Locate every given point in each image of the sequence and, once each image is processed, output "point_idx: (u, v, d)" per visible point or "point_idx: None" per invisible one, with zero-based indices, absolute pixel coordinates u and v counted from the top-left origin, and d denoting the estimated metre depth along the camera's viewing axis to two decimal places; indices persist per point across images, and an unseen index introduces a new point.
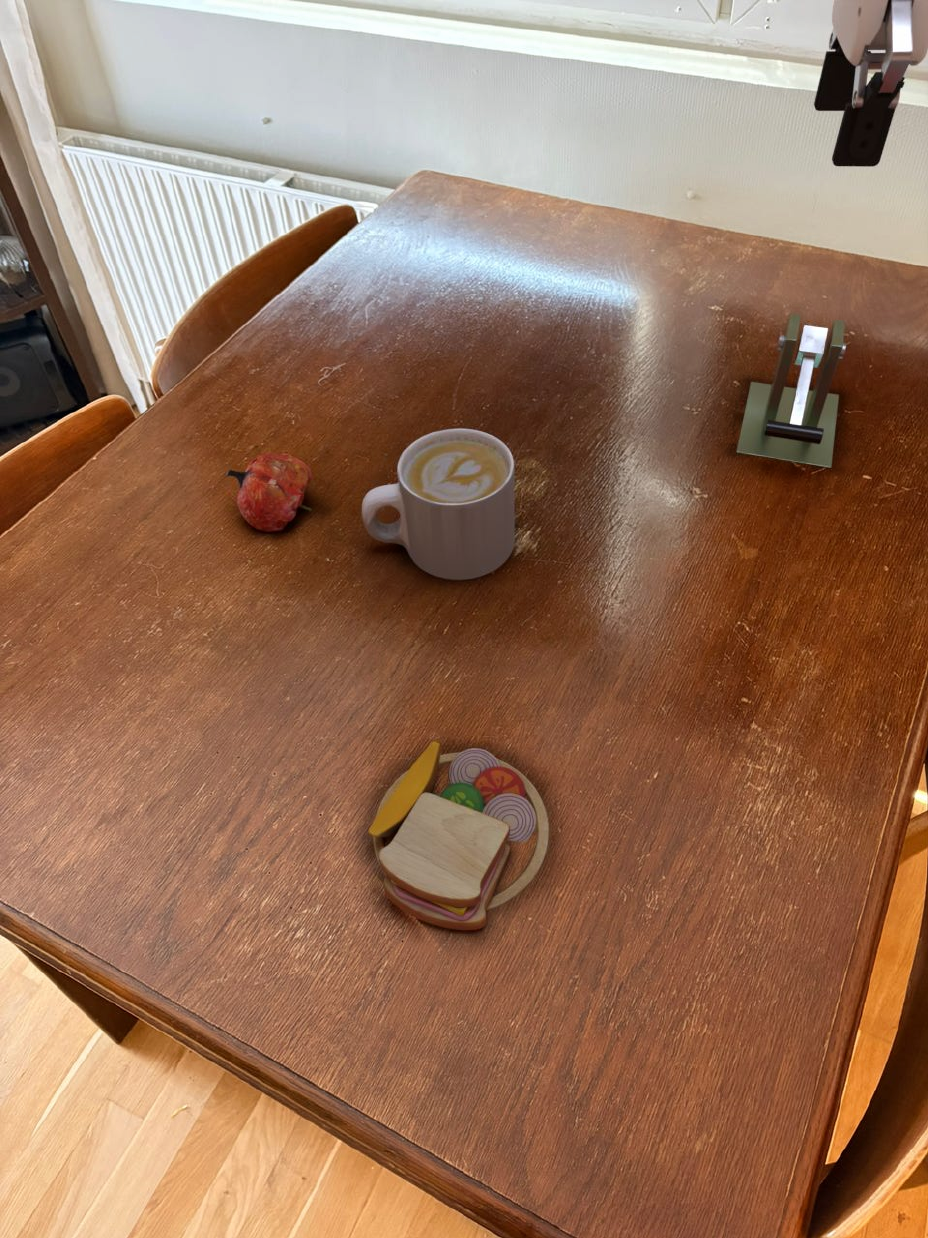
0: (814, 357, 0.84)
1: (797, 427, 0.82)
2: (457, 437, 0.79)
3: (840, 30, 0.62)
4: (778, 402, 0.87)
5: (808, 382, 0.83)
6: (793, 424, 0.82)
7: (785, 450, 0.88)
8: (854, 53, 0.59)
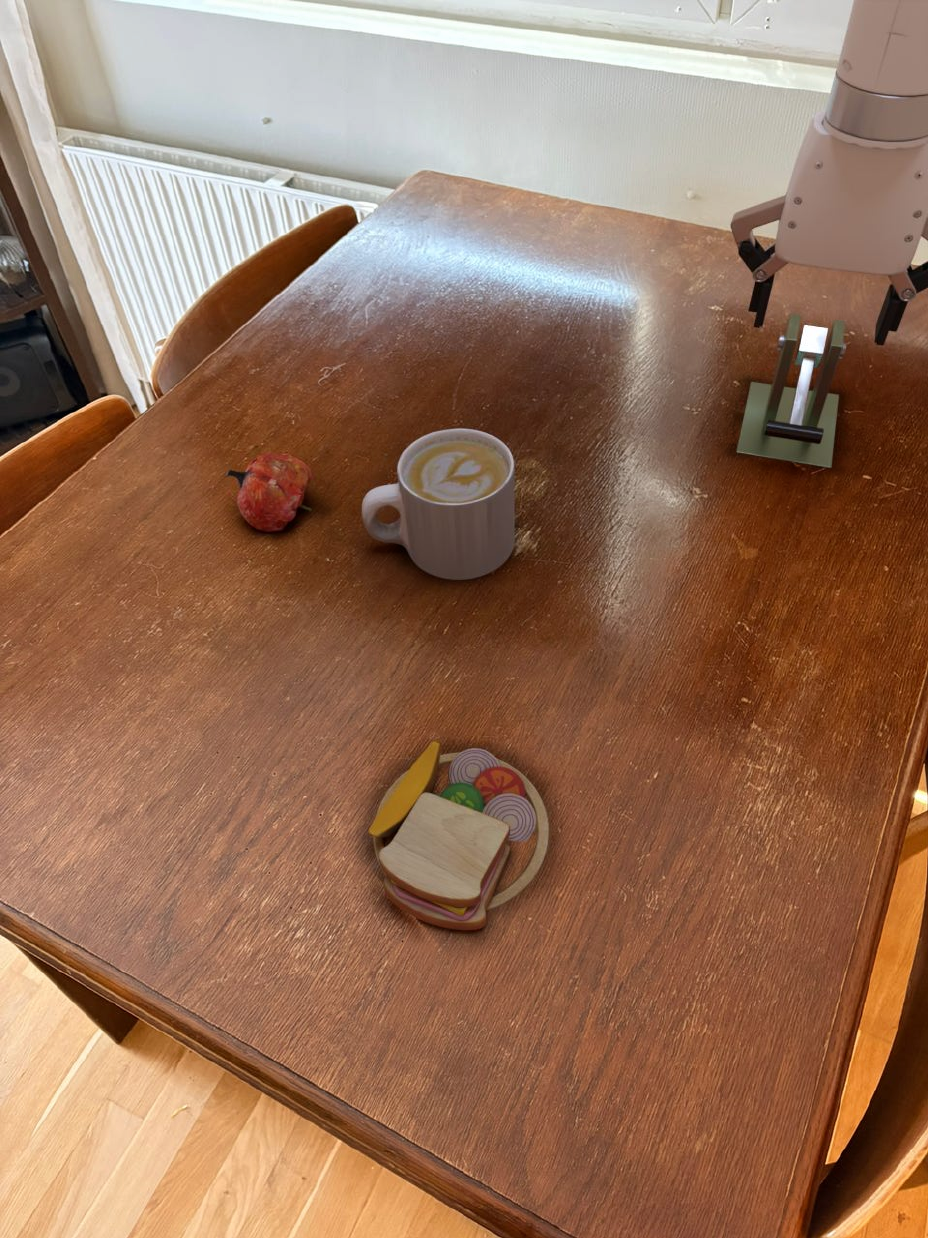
0: (814, 357, 0.84)
1: (797, 427, 0.82)
2: (457, 437, 0.79)
3: (844, 260, 0.68)
4: (778, 402, 0.87)
5: (808, 382, 0.83)
6: (793, 424, 0.82)
7: (785, 450, 0.88)
8: (904, 266, 0.67)
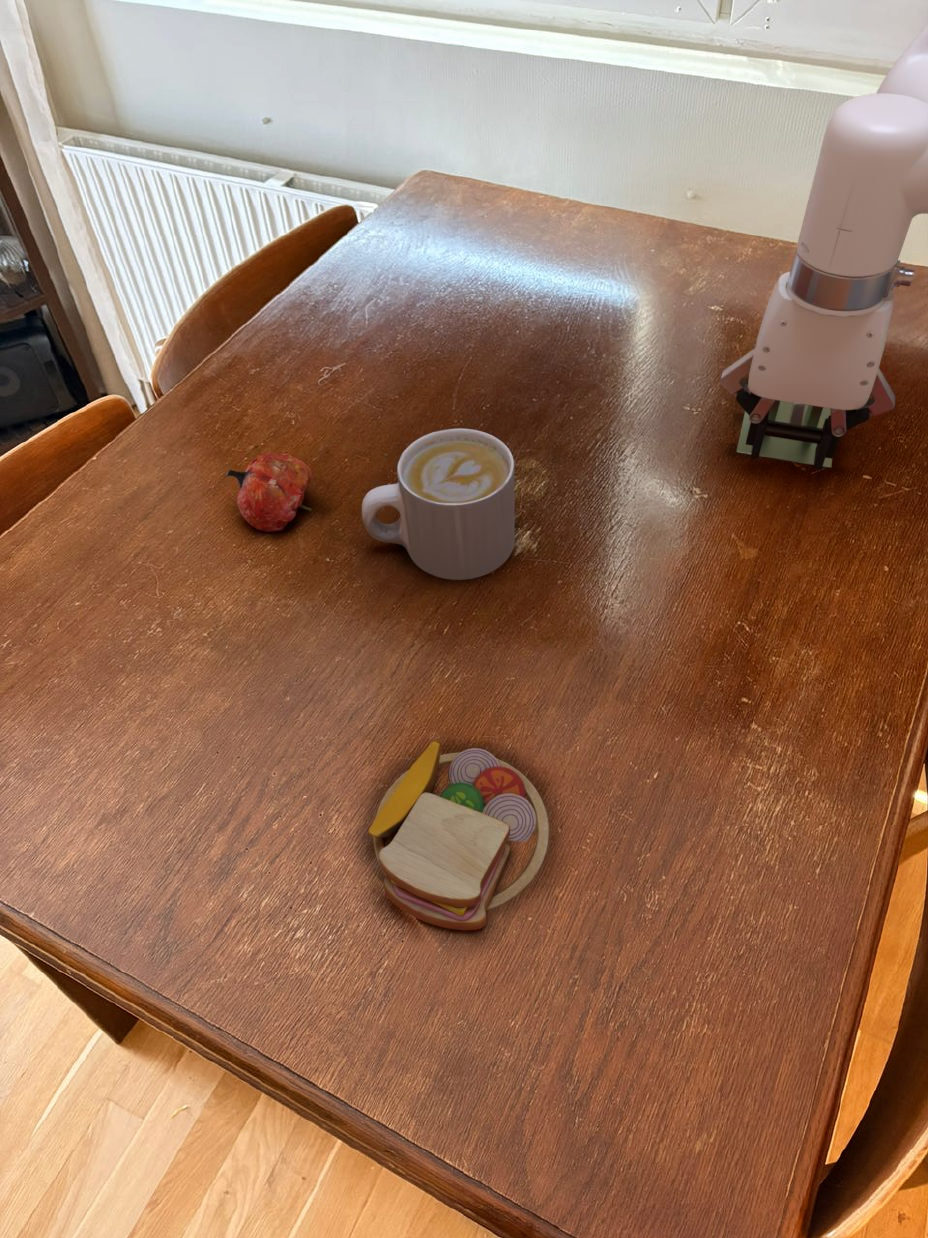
0: None
1: (797, 427, 0.82)
2: (457, 437, 0.79)
3: (809, 398, 0.77)
4: (778, 402, 0.87)
5: None
6: (793, 424, 0.82)
7: (785, 450, 0.88)
8: (861, 404, 0.76)
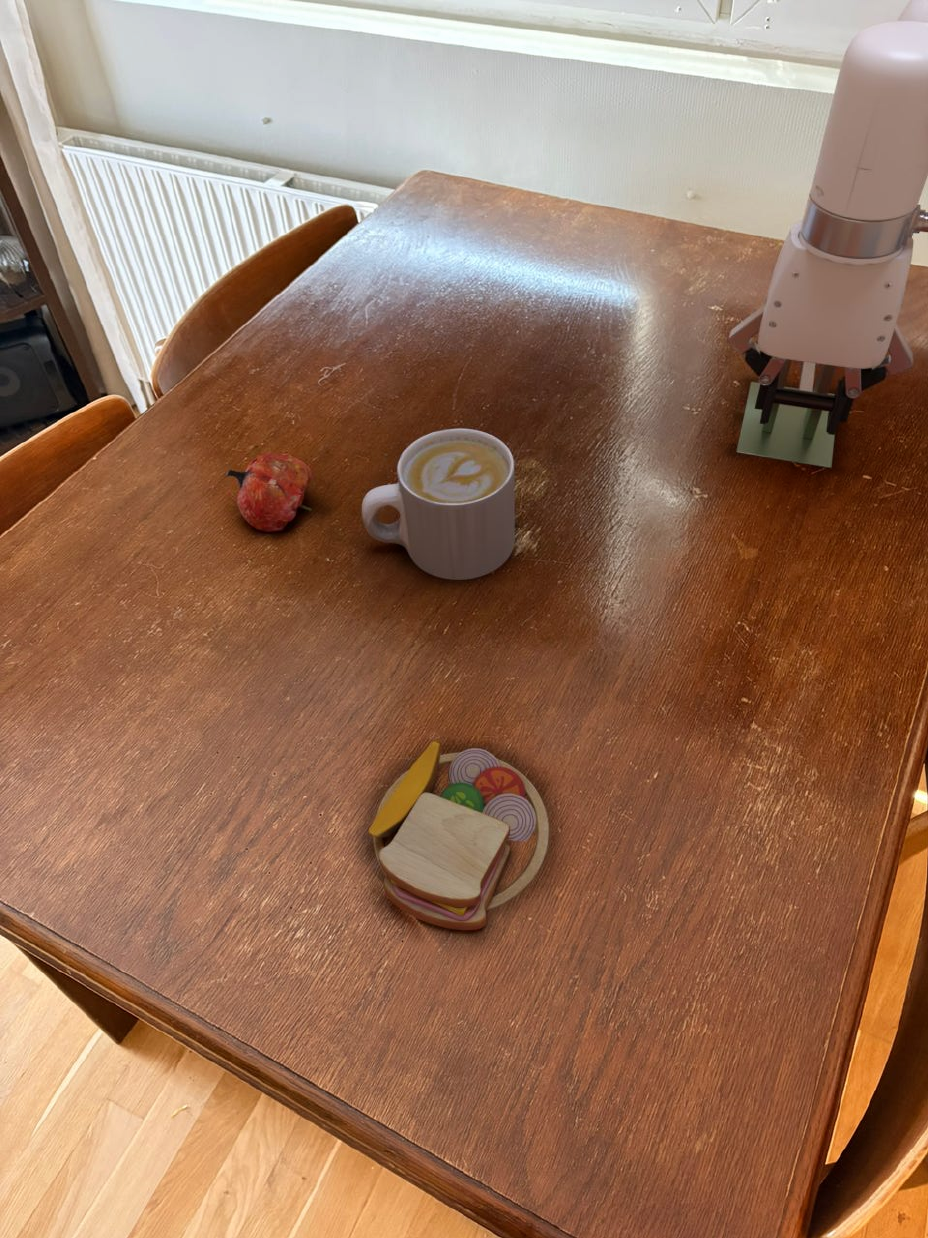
0: None
1: (808, 392, 0.78)
2: (457, 437, 0.79)
3: (822, 356, 0.73)
4: None
5: (813, 365, 0.81)
6: (803, 390, 0.79)
7: (785, 450, 0.88)
8: (878, 362, 0.72)
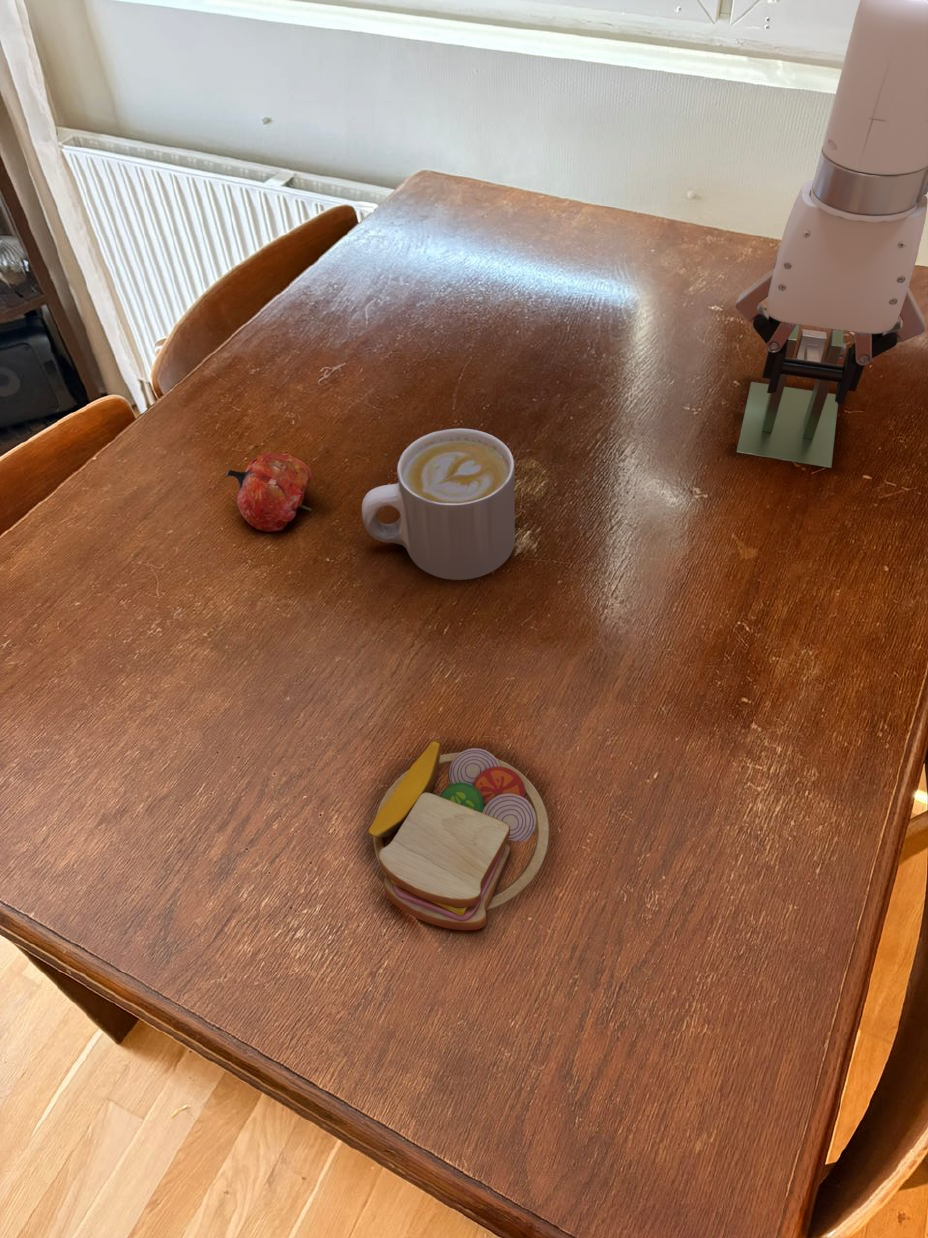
0: (817, 346, 0.83)
1: (816, 362, 0.77)
2: (457, 437, 0.79)
3: (832, 320, 0.71)
4: (778, 402, 0.87)
5: (817, 351, 0.81)
6: None
7: (785, 450, 0.88)
8: (889, 326, 0.70)
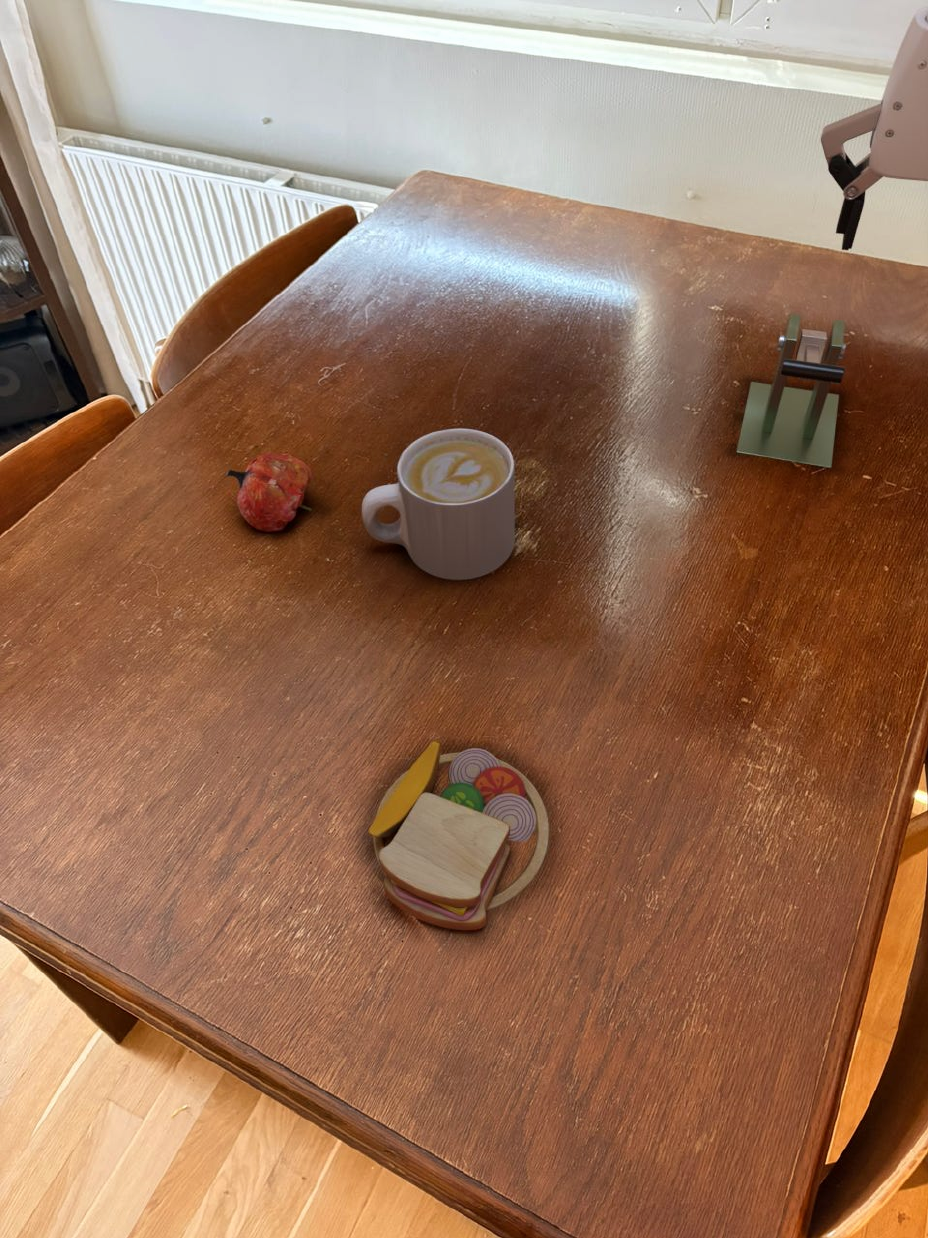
0: (817, 346, 0.83)
1: (816, 363, 0.77)
2: (457, 437, 0.79)
3: None
4: (778, 402, 0.87)
5: (817, 352, 0.81)
6: None
7: (785, 450, 0.88)
8: None
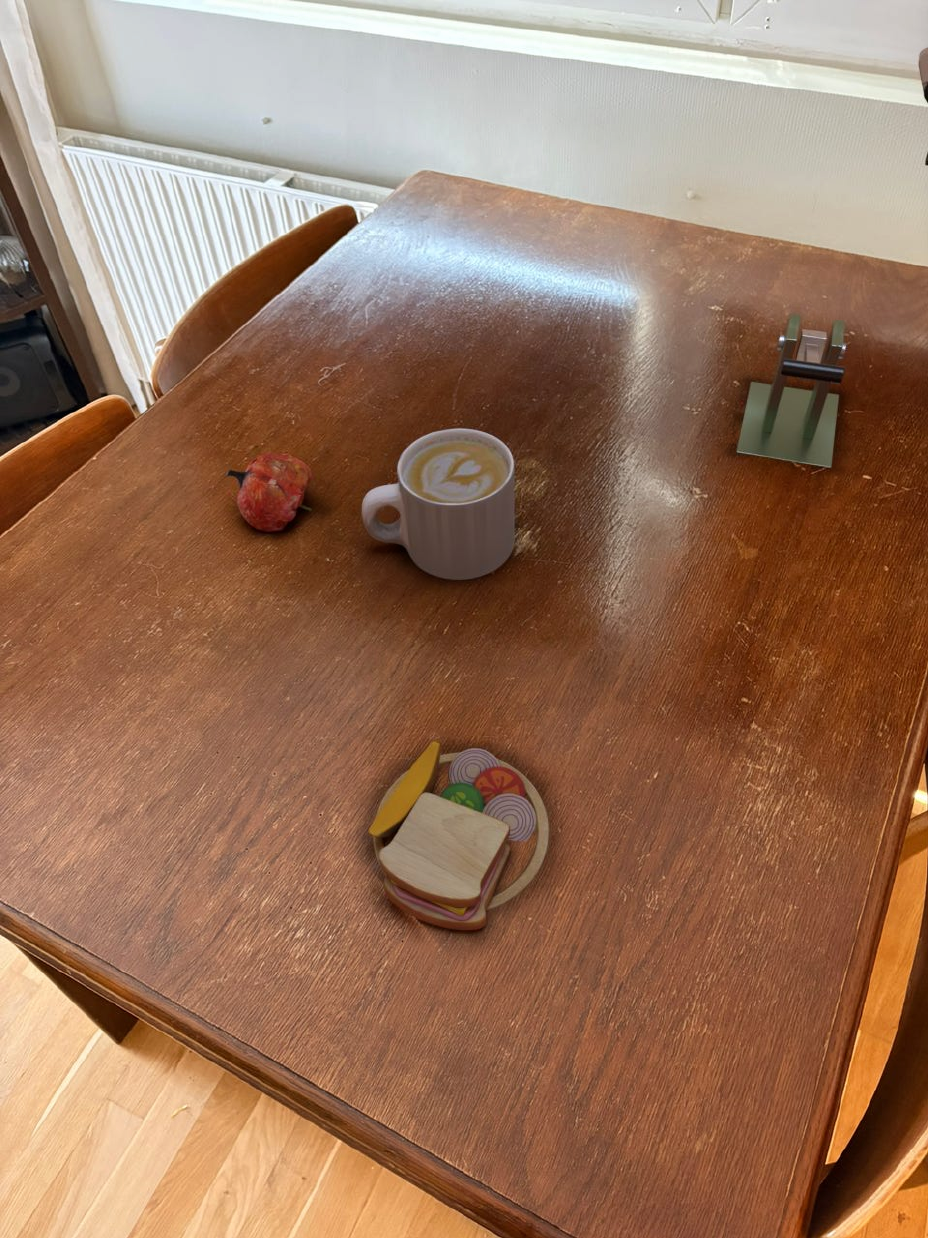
0: (817, 346, 0.83)
1: (816, 363, 0.77)
2: (457, 437, 0.79)
3: None
4: (778, 402, 0.87)
5: (817, 352, 0.81)
6: None
7: (785, 450, 0.88)
8: None
